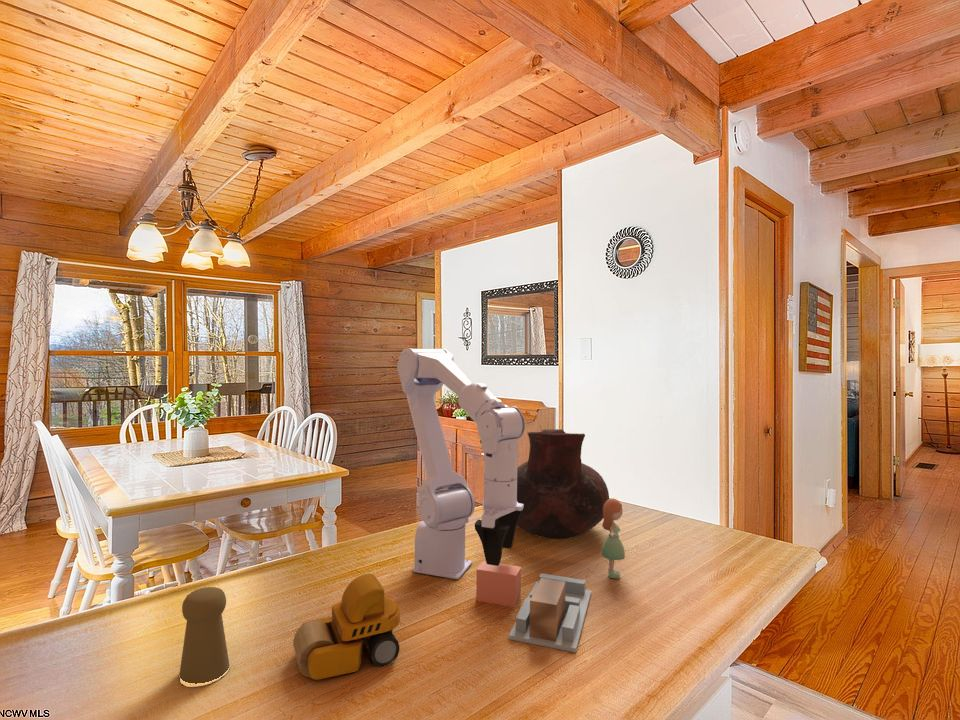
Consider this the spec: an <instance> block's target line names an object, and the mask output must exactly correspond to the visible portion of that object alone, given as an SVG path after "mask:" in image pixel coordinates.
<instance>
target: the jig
mask: <svg viewBox="0 0 960 720" xmlns="http://www.w3.org/2000/svg"><path fill="white" fill-rule="evenodd" d="M541 578H545V579H551V580H557V581H564V582H566V589H565V617H564V620H563V622H562V625H561V628H560V631H559V634H558V637H557V640H556V642H554V641H549V640H544V639H539V638H534V637H529V626H530V599H531V597H532V595H533V593H534V591H535V589H536V587H537V585H538V583H539V581H540V579H541ZM591 596H592V590H591V589H587V588H586V579H579V578H573V577H567V576H561V575H554V574H549V573H542V572H541V573H540V574H539V577H538V581H535V583H534V585H533V587H532V589H531V591H530V593H529V595H528V597H526V598H525V600H524V602H523V603H522V605H521V607H520V609H519V611H518V613H517V615H516V616H515V623H514V624H513V626H512V628H511V630H510V633H508V634H509V635H508V640H510V641H516V642H521V643H526V644H531V645H535V646H536V645H537V646H541V647H546V648H551V649H555V650H561V651H562V650H563V651H566V652H572V653H577V650H578V646H579V641H580V638H581V634H582V630H583V627H584V623H585V619H586V615H587V613H588V612H587V611H588V609H589V604H590V600H591Z"/></svg>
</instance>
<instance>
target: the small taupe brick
mask: <svg viewBox="0 0 960 720" xmlns="http://www.w3.org/2000/svg"><path fill="white" fill-rule="evenodd" d="M538 582H539V583H538V585H537V587H536V589H535V591H534V593H533V595H532V597H531V599H530V626H529V637H534V638H539V639H544V640H549V641H554V642H556V640H557V637H558V634H559V631H560V628H561V625H562V622H563V620H564V617H565V589H566V582H564V581H557V580H551V579H545V578H541V579H540V581H539V580H538Z"/></svg>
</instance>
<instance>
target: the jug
mask: <svg viewBox="0 0 960 720" xmlns="http://www.w3.org/2000/svg"><path fill="white" fill-rule="evenodd" d="M527 435H528V436H527V437H528V440H529V454H528V455H529V456H528V458H527V461H525V462H523V463H522V464H520V465H519V466H517V502H518V503H521V504H524V508H523V512H522V513H521V515H520V518H519V520H518V523H517V526H516V527H518V528H519V529H521V530H523V531H524V532H526V533H527V534H530V535H533V536H535V537H539V538H544V539H551V540H566V539H571V538H575V537H579V536H581V535H584V534H585V533H587V532H589V531H590V530H592V529H594V527H595V528H596V526H597V525H599V523H600V522H601V521H602V520H604V518H603V506H604V504H605V502H606V501H607V500H608V499H610V495H609V494H610V493H609V489H608V485H607V484H606V481H605V480H604V478H603V476H602V475H601V473H599V472H597V470H595V469H594V468H593V467H591V466H589V465H587V464H585V463H583V462H582V446H583V442H584V440H585V437H586V435H585V433H570V432H569V433H568V432H566V431H565V430H564V429H559V428H556V429H552V428H551V429H542V430H541V431H528V432H527Z"/></svg>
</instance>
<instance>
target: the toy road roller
mask: <svg viewBox="0 0 960 720" xmlns="http://www.w3.org/2000/svg"><path fill="white" fill-rule="evenodd" d="M342 593H343V594H342V597H341V601H340V603H339V602H338V603H335V604H333V605H332V606H331V616H330V617H324V618H319V619H318V618H317V619H312V620H309V621H305V622H303V624H301V625H300V627H299V628H298V629H297V631H296V632H295V634H294V637H293V642H292V643H293V644H292V645H293V650H294V654H295V657H296V661H297V664H298V668H299V671H300V672H301V674H302V675H303V676H305V677H306V678H310V679H312V680H316V681H317V680H322V679H327V678H331V677H337V676H343V675H346V674H351V673H355V672H358V671H359V668H360V667H361V664H362V657H363V643H364V645H365V646H366V648H367V650H368V656H369V658H370V659H371V661H372V663H373V664H374V666H376V667H379V668H380V667H381V668H382V667H385V666H389V665H391V664H393V663H394V662H395V660H396V659H397V658H398V656H399V653H400V647H401V646H400V644H399V641H398V639H397V638H396V636H395V635H394V634H393V632H394V631H393V629H395V628H397V627H398V626H399V624H400V622H401V607H400V606H399V604H398V603H397V602H396V601H394V600H393V599H391V598H390V597H387V596H385V589H384V586H382V584H381V583H380V581H379V580H378V578H377V577H376V576H375V575H374V574H373V573H366V574H365V573H364V574H361V575H359V576H357V577H356V578H354V579H353V580H351V582H350V583H349V584H348V585H347V587H346V588H345V589H344V591H343V592H342Z"/></svg>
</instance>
